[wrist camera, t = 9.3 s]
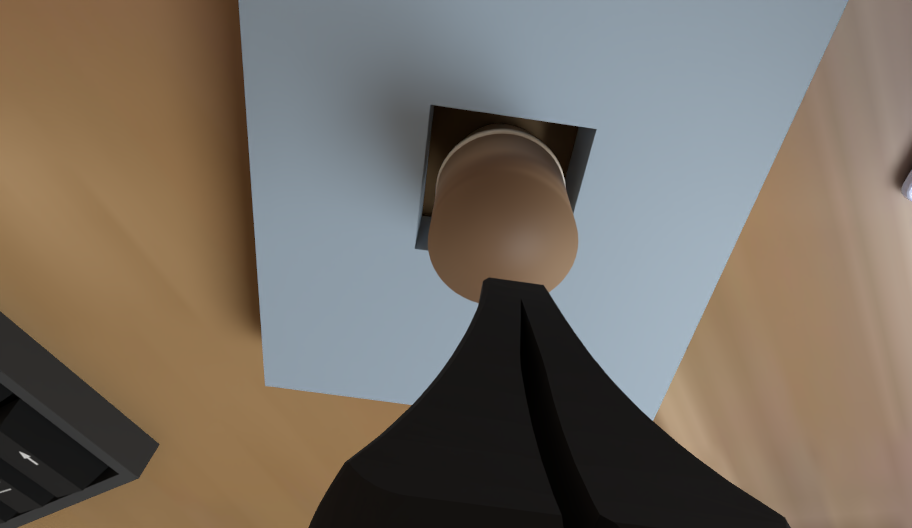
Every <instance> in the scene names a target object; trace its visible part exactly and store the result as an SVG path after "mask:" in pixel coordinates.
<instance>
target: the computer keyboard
mask: <svg viewBox="0 0 912 528" xmlns="http://www.w3.org/2000/svg"><path fill="white" fill-rule="evenodd" d="M158 446H159V444H158V443H157V442H156V441H155V440H154V439H152V438H151V437H150V436H149V435H148V434H146V433H145V432H144V431H143V430H142V429H140V428H139V427H138V426H137V425H136V424H134V423H133V422H132V421H131V420H130V419H128V418H127V417H126V416H125V415H124V414H122V413H121V412H120V411H119V410H118V409H116V408H115V407H114V406H113V405H112V404H111V403H109V402H108V401H107V400H106V399H105V398H103V397H102V396H101V395H100V394H99V393H97V392H96V391H95V390H94V389H93V388H91V387H90V386H89V385H88V384H87V383H85V382H84V381H83V380H82V379H81V378H79V377H78V376H77V375H76V374H75V373H73V372H72V371H71V370H70V369H69V368H67V367H66V366H65V365H64V364H63V363H61V362H60V361H59V360H58V359H57V358H55V357H54V356H53V355H52V354H51V353H49V352H48V351H47V350H46V349H45V348H43V347H42V346H41V345H40V344H39V343H37V342H36V341H35V340H34V339H33V338H31V337H30V336H29V335H28V334H27V333H25V332H24V331H23V330H22V329H21V328H19V327H18V326H17V325H16V324H15V323H13V322H12V321H11V320H10V319H9V318H7V317H6V316H5V315H4V314H3V313H1V312H0V528H17V527H19V526H22V525H24V524H27V523H29V522H32V521H34V520H37V519H39V518H42V517H44V516H47V515H49V514H52V513H54V512H56V511H59V510H61V509H64V508H66V507H69V506H71V505H74V504H76V503H79V502H81V501H84V500H86V499H89V498H91V497H93V496H96V495H98V494H101V493H103V492H106V491H108V490H111V489H113V488H116V487H118V486H121V485H123V484H126V483H128V482H131V481H133V480H135V479H138V478H139V477H140V475H141V474H142V472H143V470H144V469H145V467H146V465H147V464H148V462H149V461H150V459H151V457H152V456H153V454H154V453H155V451H156V449H157V448H158Z"/></svg>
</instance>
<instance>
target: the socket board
mask: <svg viewBox="0 0 912 528" xmlns="http://www.w3.org/2000/svg"><path fill="white" fill-rule="evenodd" d="M238 1H239V16H240V30H241V44H242V59H243V73H244V88H245V102H246V116H247V131H248V145H249V160H250V174H251V189H252V203H253V217H254V232H255V246H256V261H257V275H258V289H259V304H260V318H261V333H262V347H263V361H264V376H265V386H271V387H279V388H287V389H294V390H302V391H310V392H317V393H325V394H333V395H340V396H348V397H356V398H363V399H371V400H379V401H386V402H394V403H402V404H409V405H413V403H414V402H415V401H416V400H417V399H418V398H419V397H420V396H421V395H422V393H423V392H424V391H425V390H426V389H427V388H428V386H429V385H430V384H431V383H432V382H433V381H434V379H435V378H436V377H437V375H438V374H439V373H440V371H441V370H442V369H443V367H444V366H445V365H446V363H447V362H448V360H449V359H450V357H451V356H452V354H453V353H454V351H455V350H456V348H457V346H458V345H459V343H460V341H461V340H462V338H463V336H464V335H465V333H466V331H467V329H468V327H469V325H470V323H471V321H472V319H473V317H474V314H475V312H476V310H477V307H478V304H479V303H476V302H473V301H470V300H468V299H466V298H464V297H462V296H460V295H459V294H457V293H455V292H454V291H453V290H451V289H450V288H449V287H448V286H447V285H446V284H445V283H444V282H443V281H442V280H441V278H440V277H439V276H438V274H437V273H436V271H435V269H434V267H433V265H432V262H431V260H430V256H429V252H428V233H429V228H430V223H431V217H428V216H422V211H423V202H424V193H425V184H426V175H427V166H428V157H429V148H430V140H431V131H432V122H433V113H434V105H436V106H443V107H450V108H457V109H464V110H470V111H477V112H484V113H491V114H498V115H504V116H511V117H518V118H525V119H532V120H538V121H545V122H552V123H559V124H566V125H573V126H579V128H578V132H577V136H576V139H575V143H574V147H573V151H572V155H571V159H570V163H569V167H568V171H567V174H566V178H565V185H566V191H567V194H568V198H569V201H570V205H571V208H572V212H573V215H574V219H575V222H576V226H577V230H578V250H577V255H576V258H575V261H574V263H573V266H572V267H571V269H570V271H569V273H568V274H567V275H566V277H565V278H564V279H563V281H562V282H561V283H560V284H559V285H558V286H557V287H555V288H554V289H553V290H552V291H550V292H549V294H550V295H551V297H552V298H553V300H554V302H555V303H556V305H557V306H558V308H559V310H560V311H561V313H562V314H563V316H564V317H565V319H566V320H567V322H568V323H569V325H570V326H571V328H572V329H573V331H574V332H575V333H576V335H577V336H578V338H579V339H580V340H581V342H582V343H583V345H584V346H585V347H586V349H587V350H588V352H589V353H590V354H591V355H592V357H593V358H594V359H595V360H596V362H597V363H598V364H599V365H600V366H601V368H602V369H603V370H604V371H605V373H606V374H607V375H608V376H609V377H610V378H611V380H612V381H613V382H614V383H615V384H616V385H617V386H618V387H619V388H620V389H621V390H622V391H623V392H624V393H625V394H626V395H627V396H628V398H629V399H630V400H631V401H632V402H633V403H634V404H635V405H636V406H637V407H638V408H639V409H640V410H641V411H642V412H643V413H645V414H646V415H647V416H648V417H649V418H650V419H651V420H652V421H653V420H654V418H655V416H656V413H657V411H658V409H659V407H660V405H661V403H662V400H663V398H664V396H665V394H666V392H667V390H668V388H669V385H670V383H671V381H672V379H673V377H674V375H675V373H676V370H677V368H678V366H679V364H680V362H681V360H682V357H683V355H684V353H685V351H686V349H687V347H688V345H689V342H690V340H691V338H692V336H693V334H694V332H695V329H696V327H697V325H698V323H699V321H700V319H701V317H702V314H703V312H704V310H705V308H706V306H707V304H708V301H709V299H710V297H711V295H712V293H713V291H714V289H715V286H716V284H717V282H718V280H719V278H720V276H721V274H722V271H723V269H724V267H725V265H726V263H727V261H728V258H729V256H730V254H731V252H732V250H733V248H734V246H735V243H736V241H737V239H738V237H739V235H740V233H741V230H742V228H743V226H744V224H745V222H746V220H747V218H748V215H749V213H750V211H751V209H752V207H753V205H754V203H755V200H756V198H757V196H758V194H759V192H760V190H761V187H762V185H763V183H764V181H765V179H766V177H767V175H768V172H769V170H770V168H771V166H772V164H773V162H774V159H775V157H776V155H777V153H778V151H779V149H780V147H781V144H782V142H783V140H784V138H785V136H786V134H787V131H788V129H789V127H790V125H791V123H792V121H793V119H794V116H795V114H796V112H797V110H798V108H799V106H800V104H801V101H802V99H803V97H804V95H805V93H806V91H807V88H808V86H809V84H810V82H811V80H812V78H813V76H814V73H815V71H816V69H817V67H818V65H819V63H820V60H821V58H822V56H823V54H824V52H825V50H826V48H827V45H828V43H829V41H830V39H831V37H832V35H833V33H834V30H835V28H836V26H837V24H838V22H839V20H840V17H841V15H842V13H843V11H844V9H845V7H846V5H847V2H848V0H238Z"/></svg>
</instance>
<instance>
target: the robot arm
mask: <svg viewBox="0 0 912 528" xmlns="http://www.w3.org/2000/svg"><path fill="white" fill-rule="evenodd" d="M901 192H902V194H903V196H904V197H905V198H907V199H908V200H910V201H912V170H911V172H910V173H909V175H908V177H907V178H906V180H905V182H904V183H903V185H902V188H901ZM309 528H791V527H790V526H789V524H788V522H787V521H786V519H785V517H783V516H782V515H780V514H779V513H777V512H776V511H774V510H772V509H771V508H769V507H768V506H766V505H765V504H763V503H762V502H760V501H758V500H757V499H755V498H754V497H752V496H751V495H749V494H748V493H746V492H744V491H743V490H741V489H740V488H738V487H737V486H735V485H734V484H732V483H731V482H729V481H728V480H726V479H725V478H723V477H722V476H721V475H719V474H718V473H717V472H715V471H714V470H713V469H711V468H710V467H709V466H707V465H706V464H704V463H703V462H702V461H700V460H699V459H698V458H696V457H695V456H694V455H693V454H691V453H690V452H689V451H687V450H686V449H685V448H684V447H682V446H681V445H680V444H679V443H677V442H676V441H675V440H674V439H673V438H672V437H670V436H669V435H668V434H667V433H666V432H665V431H664V430H662V429H661V428H660V427H659V426H658V425H657V424H655V423H654V422H653V421H652V420H651V419H650V418H649V417H648V416H647V415H646V414H645V413H643V412H642V411H641V410H640V409H639V408H638V407H637V406H636V405H635V404H634V403H633V402H632V401H631V400H630V399H629V398H628V396H627V395H626V394H625V393H624V392H623V391H622V390H621V389H620V388H619V387H618V386H617V385H616V384H615V383H614V382H613V381H612V380H611V378H610V377H609V376H608V375H607V374H606V373H605V371H604V370H603V369H602V368H601V366H600V365H599V364H598V363H597V362H596V360H595V359H594V358H593V357H592V355H591V354H590V353H589V352H588V350H587V349H586V347H585V346H584V345H583V343H582V342H581V340H580V339H579V338H578V336H577V335H576V333H575V332H574V331H573V329H572V328H571V326H570V325H569V323H568V322H567V320H566V319H565V317H564V316H563V314H562V313H561V311H560V310H559V308H558V306H557V305H556V303H555V302H554V300H553V298H552V297H551V295H550V294H549V292H548V291H547V289H546V288H545V286H544V285H540V284H533V283H526V282H519V281H512V280H505V279H498V278H491V277H489V278H487V279H485V280H484V281H483V283H482V288H481V294H480V299H479V304H478V307H477V310H476V312H475V314H474V317H473V319H472V321H471V323H470V325H469V327H468V329H467V331H466V333H465V335H464V336H463V338H462V340H461V341H460V343H459V345H458V346H457V348H456V350H455V351H454V353H453V354H452V356H451V357H450V359H449V360H448V362H447V363H446V365H445V366H444V367H443V369H442V370H441V371H440V373H439V374H438V375H437V377H436V378H435V379H434V381H433V382H432V383H431V384H430V385H429V386H428V388H427V389H426V390H425V391H424V392H423V393H422V395H421V396H420V397H419V398H418V399H417V400H416V401H415V402H414V403H413V405H412V406H411V407H410V408H409V409H408V410H407V411H406V412H404V413H403V414H402V415H401V416H400V417H399V418H398V419H397V420H396V421H395V422H394V423H393V424H392V425H391V426H390V427H389V428H387V429H386V430H385V431H384V432H383V433H382V434H381V435H380V436H378V437H377V438H376V439H375V440H373V441H372V442H371V443H370V444H368V445H367V446H366V447H364V448H363V449H362V450H360V451H359V452H358V453H357V454H355V455H354V456H353V457H351V458H350V459H349V460H347V461H346V462H345V463H344V465H343V466H342V468H341V469H340V471H339V473H338V474H337V476H336V477H335V479H334V480H333V482H332V484H331V485H330V487H329V489H328V490H327V492H326V494H325V495H324V497H323V499H322V501H321V502H320V504H319V506H318V508H317V510H316V512H315V514H314V516H313V519H312V521H311V523H310V525H309Z"/></svg>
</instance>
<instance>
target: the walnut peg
mask: <svg viewBox="0 0 912 528" xmlns="http://www.w3.org/2000/svg"><path fill="white" fill-rule="evenodd" d="M435 195H436V196H435V201H434V206H433V212H432V217H431V223H430V228H429V233H428V252H429V256H430V260H431V262H432V265H433V267H434V269H435V271H436V273H437V274H438V276H439V277H440V278H441V280H442V281H443V282H444V283H445V284H446V285H447V286H448V287H449V288H450V289H451V290H453V291H454V292H455V293H457V294H459V295H460V296H462V297H464V298H466V299H468V300H470V301H473V302H476V303H479V299H480V294H481V288H482V283H483V281H484V280H485V279H487V278H489V277H491V278H498V279H505V280H512V281H519V282H526V283H533V284H540V285H544V286H545V288H546V289H547V291H548V292H550V291H552V290H553V289H554V288H555V287H557V286H558V285H559V284H560V283H561V282H562V281H563V279H564V278H565V277H566V275H567V274H568V273H569V271H570V269H571V267H572V266H573V263H574V261H575V258H576V255H577V250H578V230H577V226H576V222H575V219H574V215H573V212H572V208H571V205H570V201H569V198H568V194H567V191H566V185H565V179H564V175H563V171H562V168H561V166H560V163H559V161H558V160H557V158H556V156H555V155H554V153H553V152H552V151H551V150H550V149H549V148H548V147H547V146H546V145H545V144H544V143H543V142H541V141H540V140H539V139H537V138H535V137H534V136H533V135H531V134H530V133H529V132H527V131H525V130H523V129H521V128H519V127H516V126H512V125H509V124H501V123H500V124H490V125H487V126H484V127H482V128H479V129H477V130H475V131H474V132H472V133H470V134H469V135H468V136H466V137H465V138H464V139H463V140H462V141H461V142H460V143H459V144H458V145H456V146H455V147H454V148H453V149H452V150H451V151H450V152H449V154H448V155H447V157H446V158H445V159H444V161H443V163H442V165H441V167H440V170H439V173H438V177H437V182H436V190H435Z"/></svg>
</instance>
